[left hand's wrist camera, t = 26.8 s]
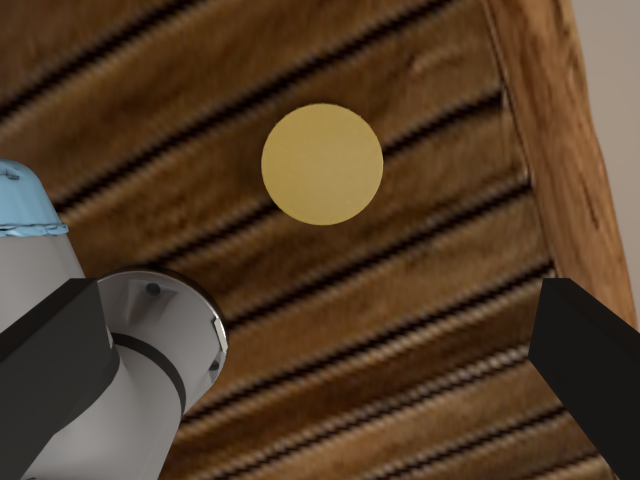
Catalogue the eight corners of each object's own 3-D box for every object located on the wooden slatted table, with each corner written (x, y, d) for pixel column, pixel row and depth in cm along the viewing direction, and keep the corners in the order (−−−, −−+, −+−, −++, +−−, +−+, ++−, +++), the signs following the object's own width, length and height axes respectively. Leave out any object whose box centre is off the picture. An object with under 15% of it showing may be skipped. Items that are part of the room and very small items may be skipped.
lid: (300, 77, 35) (299, 77, 33) (403, 143, 37) (408, 146, 35) (242, 183, 38) (239, 188, 36) (341, 238, 40) (342, 246, 38)
